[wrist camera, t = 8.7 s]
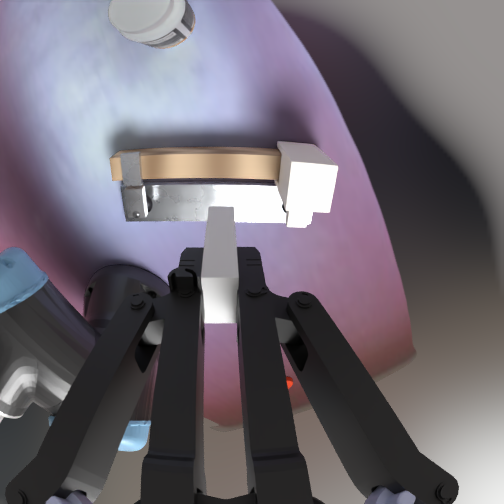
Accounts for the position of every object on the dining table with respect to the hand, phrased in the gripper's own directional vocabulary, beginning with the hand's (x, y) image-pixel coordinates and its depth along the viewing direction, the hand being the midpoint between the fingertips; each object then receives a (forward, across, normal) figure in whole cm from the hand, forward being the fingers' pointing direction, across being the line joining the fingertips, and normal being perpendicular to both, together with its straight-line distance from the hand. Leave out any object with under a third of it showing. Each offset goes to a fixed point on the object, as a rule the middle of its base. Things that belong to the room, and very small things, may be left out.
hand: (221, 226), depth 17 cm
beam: (+14, -1, 0) cm, 14 cm away
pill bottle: (+15, -6, +15) cm, 22 cm away
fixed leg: (+13, -9, -1) cm, 16 cm away
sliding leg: (+14, +8, -1) cm, 16 cm away
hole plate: (+14, -1, -5) cm, 15 cm away
